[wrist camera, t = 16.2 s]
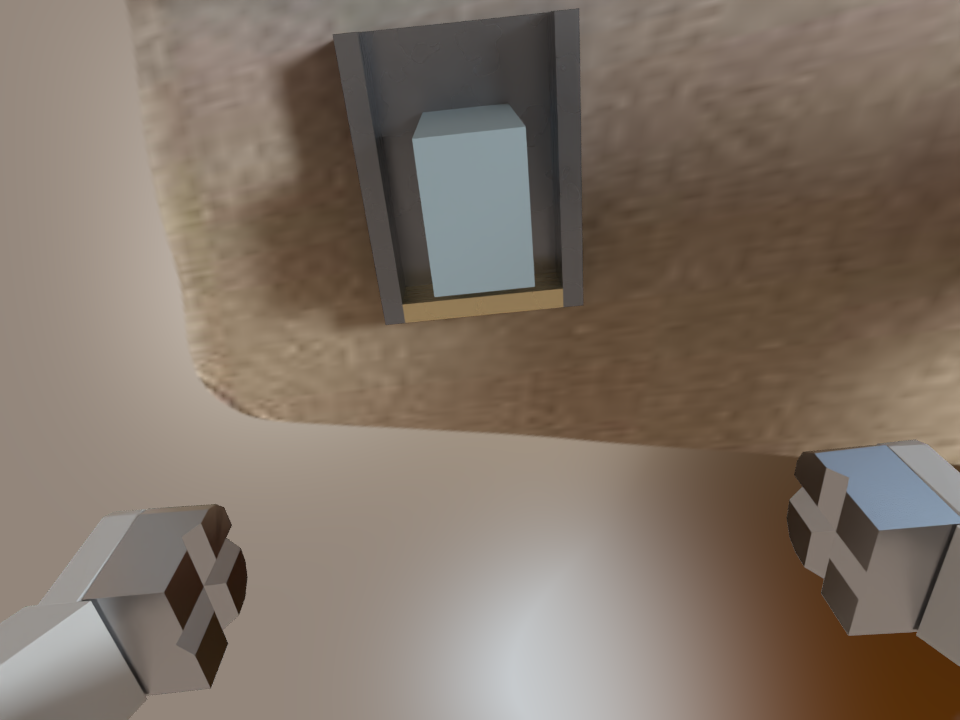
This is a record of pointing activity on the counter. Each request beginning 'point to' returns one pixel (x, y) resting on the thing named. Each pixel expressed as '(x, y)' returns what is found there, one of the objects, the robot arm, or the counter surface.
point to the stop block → (475, 199)
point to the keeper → (452, 85)
